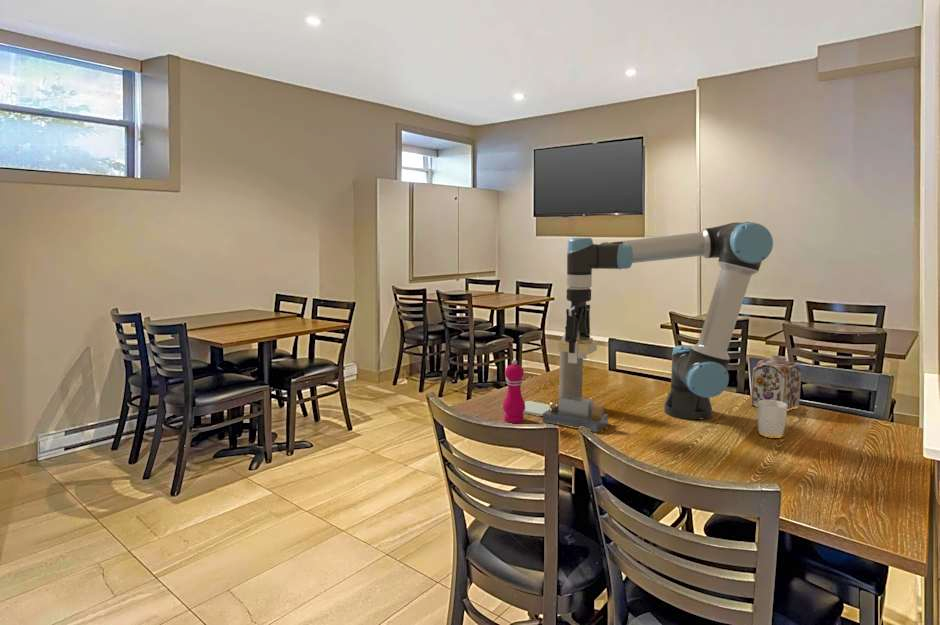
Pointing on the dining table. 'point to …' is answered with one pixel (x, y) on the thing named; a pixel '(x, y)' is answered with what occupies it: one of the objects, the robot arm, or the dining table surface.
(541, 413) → the rubber mat
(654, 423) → the dining table surface
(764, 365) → the decorative jar
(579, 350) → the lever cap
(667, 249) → the robot arm
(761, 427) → the white cup
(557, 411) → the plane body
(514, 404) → the pepper mill
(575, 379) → the thermos bottle
